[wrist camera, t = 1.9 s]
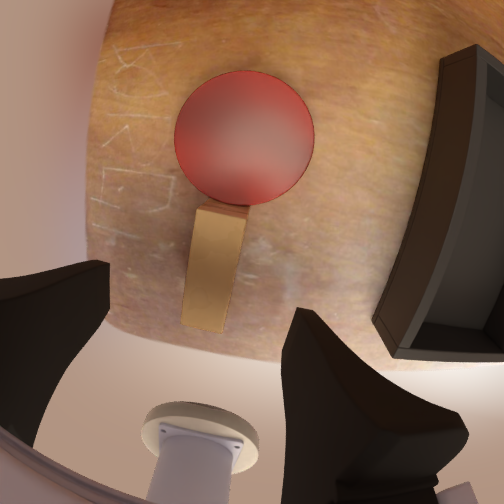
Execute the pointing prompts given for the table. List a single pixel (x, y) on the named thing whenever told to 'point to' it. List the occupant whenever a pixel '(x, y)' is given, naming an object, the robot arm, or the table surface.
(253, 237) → the table surface
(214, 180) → the paddle
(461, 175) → the bin
